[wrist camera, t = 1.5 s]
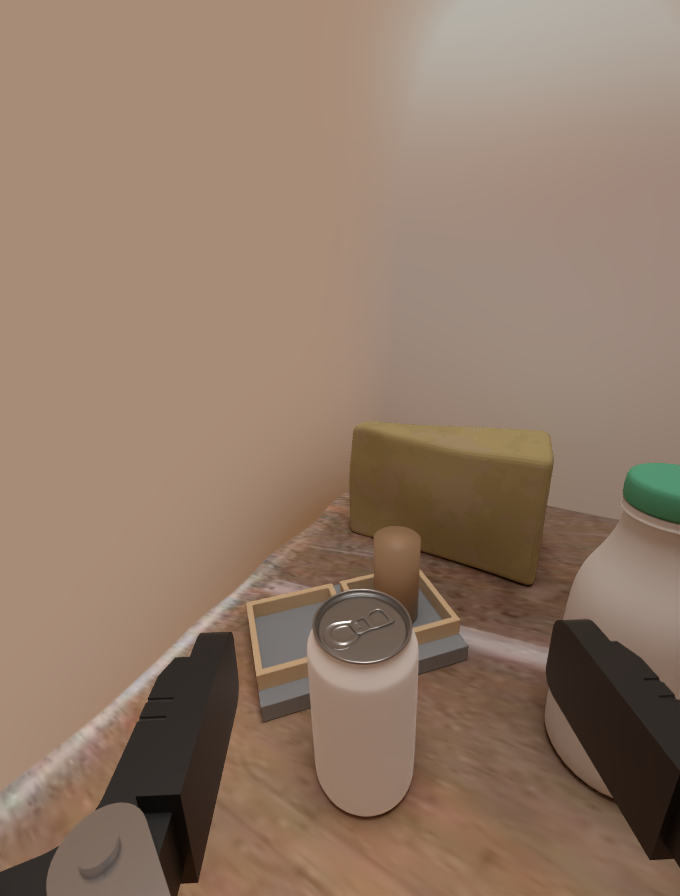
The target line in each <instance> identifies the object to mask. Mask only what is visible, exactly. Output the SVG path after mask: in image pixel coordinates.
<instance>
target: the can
mask: <svg viewBox="0 0 680 896" xmlns="http://www.w3.org/2000/svg"><path fill="white" fill-rule="evenodd" d="M307 662H308V677H309V690H310V704H311V717H312V730H313V742H314V754H315V765H316V772H317V777H318V780H319V782H320V785H321V787H322V789H323V790H324V792H325V793H326V795H327V796H328V797H329V799H330V800H331V801H332V802H333V803H334V804H335V805H336V806H337V807H339V808H340V809H342V810H344V811H345V812H348V813H350V814H353V815H357V816H376V815H379V814H382V813H385V812H387V811H389V810H391V809H392V808H393V807H395V806H396V805H397V804H398V803H399V802H400V801H401V800H402V799H403V797H404V796H405V794H406V793H407V791H408V789H409V786H410V784H411V780H412V776H413V768H414V753H415V733H416V712H417V689H418V663H419V649H418V641H417V638H416V635H415V632H414V630H413V628H412V620H411V617H410V615H409V613H408V611H407V609H406V608H405V607H404V606H403V604H402V603H401V602H399V601H398V600H397V599H395V598H394V597H392V596H390V595H388V594H386V593H384V592H381V591H377V590H372V589H351V590H346V591H342V592H340V593H337V594H335V595H333V596H331V597H330V598H328V599H327V600H325V601H324V602H323V603H322V604H321V605H320V606H319V608H318V609H317V611H316V613H315V615H314V618H313V623H312V630H311V632H310V635H309V638H308V643H307Z"/></svg>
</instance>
